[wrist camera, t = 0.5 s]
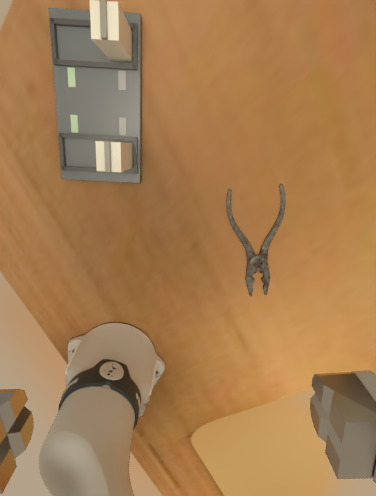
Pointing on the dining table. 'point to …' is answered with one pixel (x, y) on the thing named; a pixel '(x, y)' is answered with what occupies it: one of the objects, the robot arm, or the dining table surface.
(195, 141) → the dining table surface
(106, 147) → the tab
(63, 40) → the grey rectangular board
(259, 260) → the pliers
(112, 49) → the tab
